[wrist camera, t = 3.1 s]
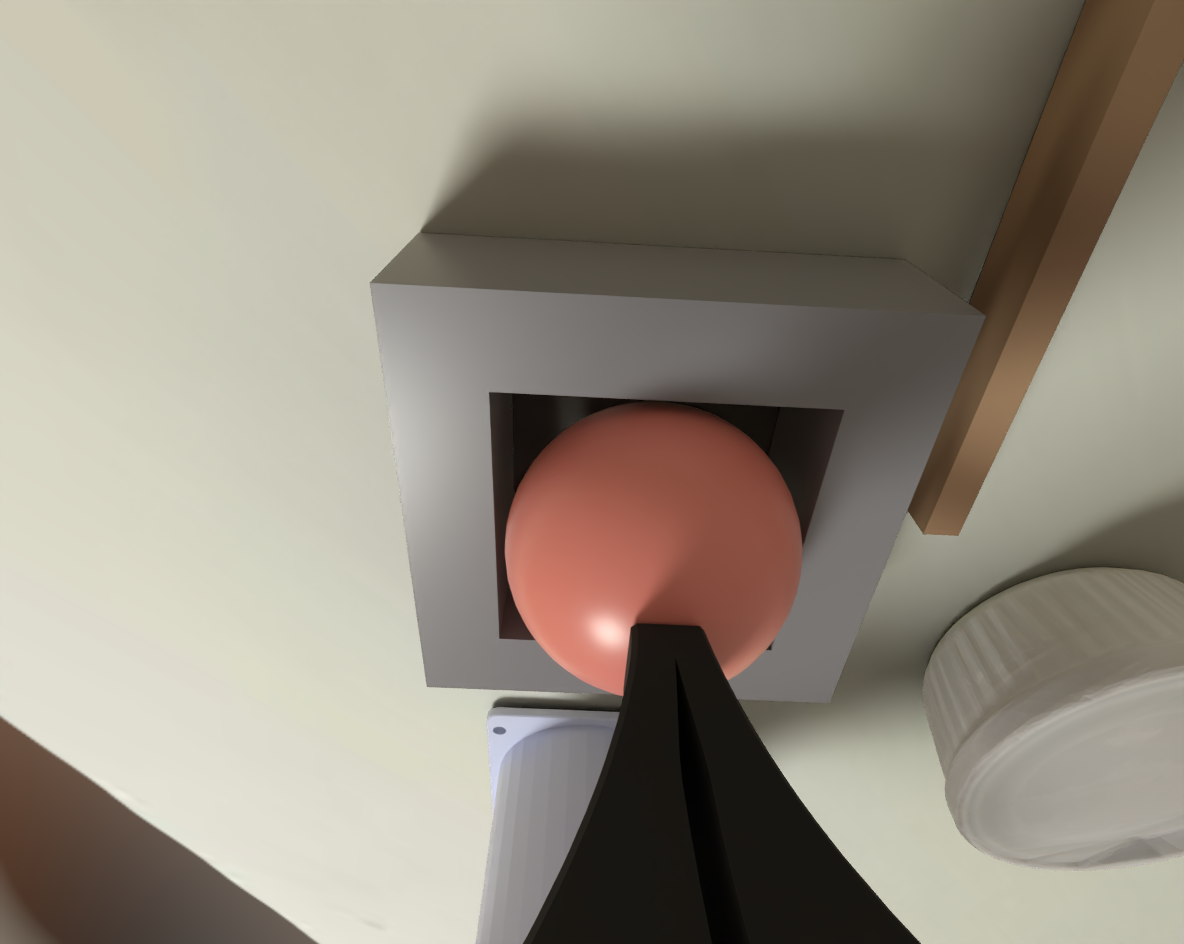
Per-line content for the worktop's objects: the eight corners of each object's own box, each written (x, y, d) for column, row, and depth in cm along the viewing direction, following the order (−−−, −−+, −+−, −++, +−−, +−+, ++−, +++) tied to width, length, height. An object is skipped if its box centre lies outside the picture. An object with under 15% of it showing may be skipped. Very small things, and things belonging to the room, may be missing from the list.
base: (795, 605, 22) (829, 703, 19) (452, 591, 22) (426, 687, 19) (904, 259, 16) (985, 316, 13) (418, 232, 16) (369, 282, 12)
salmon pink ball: (741, 564, 20) (798, 771, 15) (521, 554, 20) (490, 759, 14) (789, 360, 17) (894, 531, 11) (519, 346, 16) (475, 511, 11)
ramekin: (987, 774, 28) (1058, 908, 24) (833, 659, 24) (885, 795, 20) (1267, 646, 24) (1420, 783, 19) (1134, 478, 20) (1289, 602, 15)
